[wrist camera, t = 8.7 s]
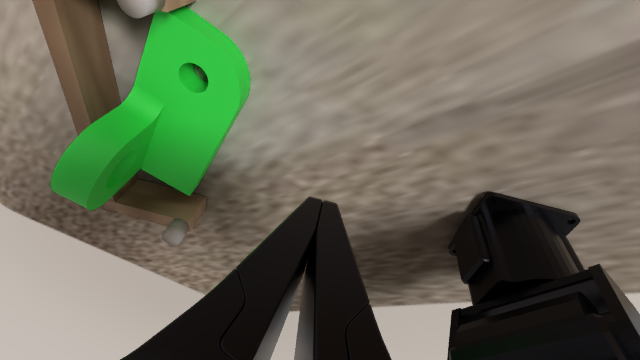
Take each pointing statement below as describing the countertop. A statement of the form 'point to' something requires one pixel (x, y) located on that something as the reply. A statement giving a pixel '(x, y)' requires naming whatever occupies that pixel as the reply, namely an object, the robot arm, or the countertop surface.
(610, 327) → the robot arm
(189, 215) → the dock bracket
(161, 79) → the mechanical part
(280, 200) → the countertop surface
